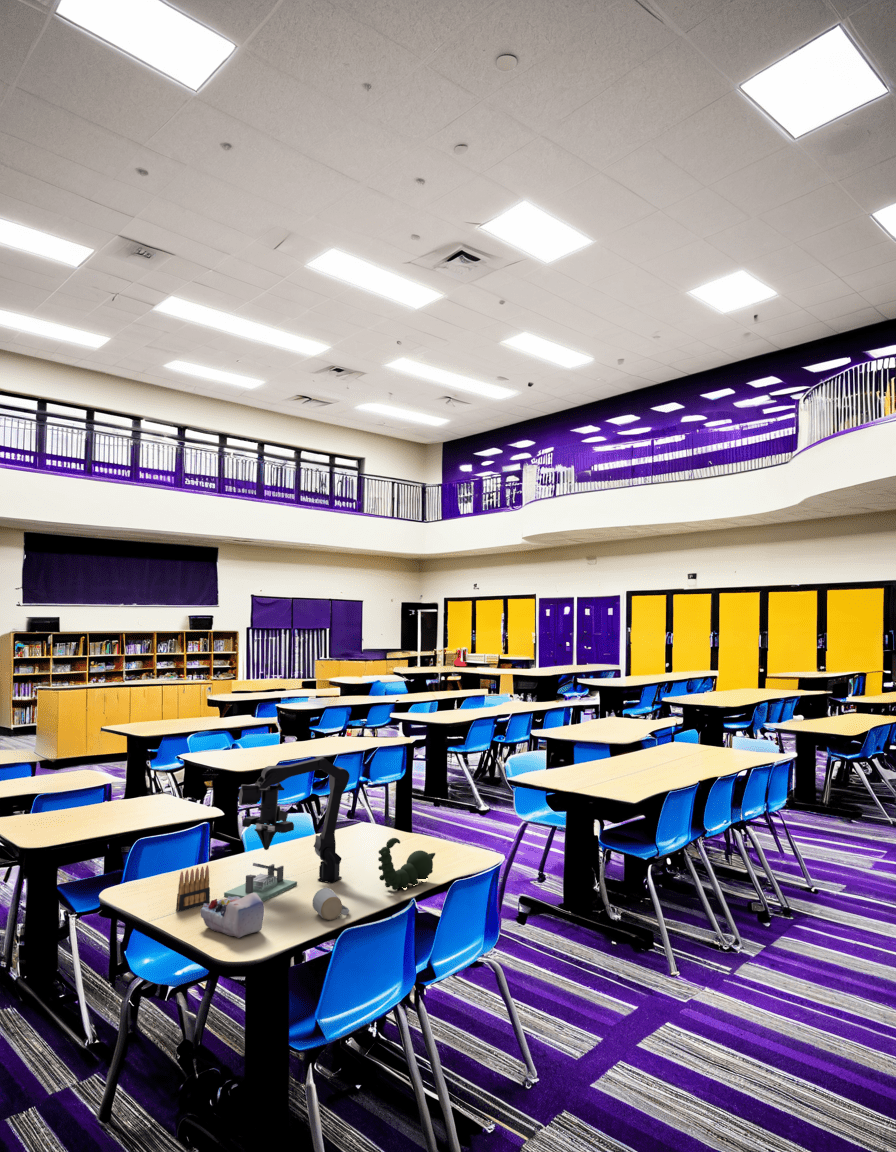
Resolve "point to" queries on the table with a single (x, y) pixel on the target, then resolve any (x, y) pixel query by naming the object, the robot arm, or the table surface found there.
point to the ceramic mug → (328, 904)
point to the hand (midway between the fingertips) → (266, 849)
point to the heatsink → (264, 882)
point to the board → (265, 894)
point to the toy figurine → (404, 867)
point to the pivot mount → (279, 872)
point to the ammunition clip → (193, 890)
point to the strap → (264, 866)
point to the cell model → (234, 915)
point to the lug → (249, 883)
